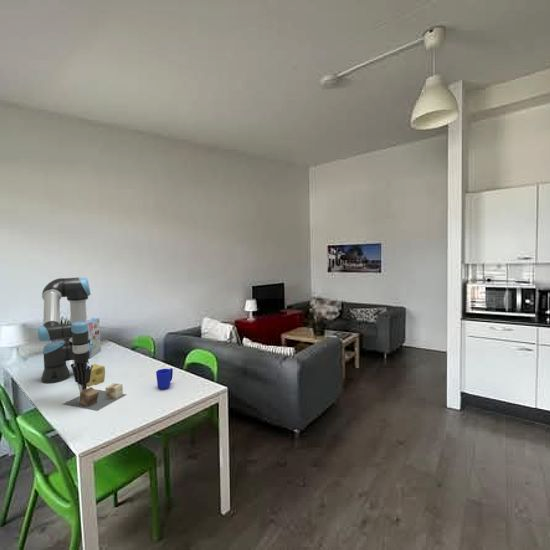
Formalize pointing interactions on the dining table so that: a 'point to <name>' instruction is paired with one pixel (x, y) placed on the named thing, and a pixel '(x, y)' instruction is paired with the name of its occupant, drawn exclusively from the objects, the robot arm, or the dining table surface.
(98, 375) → the cheese
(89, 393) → the walnut block
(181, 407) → the dining table surface
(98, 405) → the rubber mat
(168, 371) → the mug
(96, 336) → the game box
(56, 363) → the robot arm
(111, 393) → the maple block
